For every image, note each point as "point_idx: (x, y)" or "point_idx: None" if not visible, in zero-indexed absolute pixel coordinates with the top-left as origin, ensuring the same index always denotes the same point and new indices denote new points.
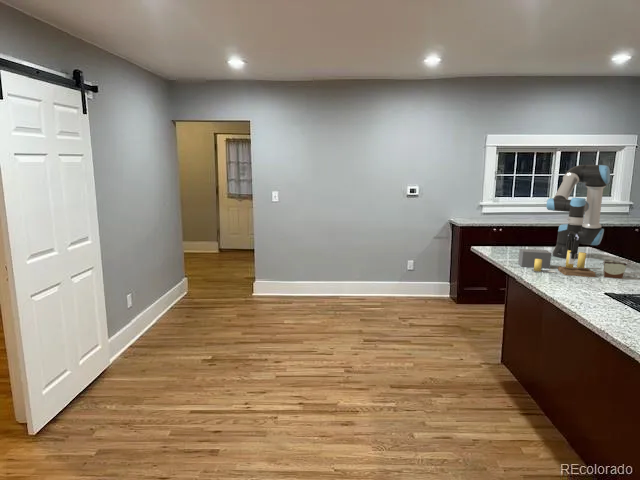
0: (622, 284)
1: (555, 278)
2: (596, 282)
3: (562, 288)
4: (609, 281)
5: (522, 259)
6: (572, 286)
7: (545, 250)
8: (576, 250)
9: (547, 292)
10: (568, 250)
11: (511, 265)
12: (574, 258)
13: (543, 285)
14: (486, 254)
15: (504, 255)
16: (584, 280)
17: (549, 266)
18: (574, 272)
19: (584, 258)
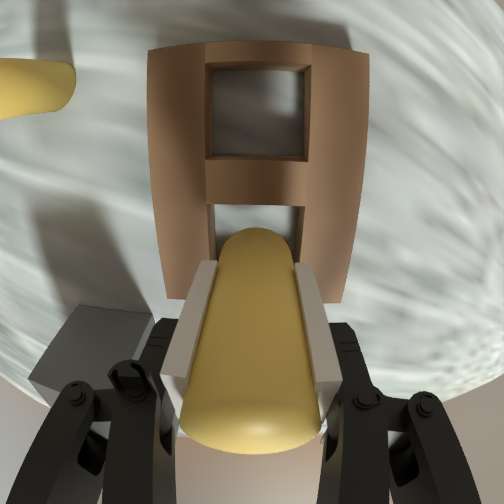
0: (481, 21)
1: (398, 346)
2: (481, 151)
3: (497, 342)
4: (446, 39)
5: (175, 440)
6: (499, 308)
7: (39, 390)
8: (441, 439)
9: (498, 374)
10: (223, 446)
11: None
12: (323, 313)
13: (459, 383)
14: (49, 406)
15: (20, 369)
16: (449, 205)
17: (147, 327)
18: (352, 236)
19: (8, 66)
